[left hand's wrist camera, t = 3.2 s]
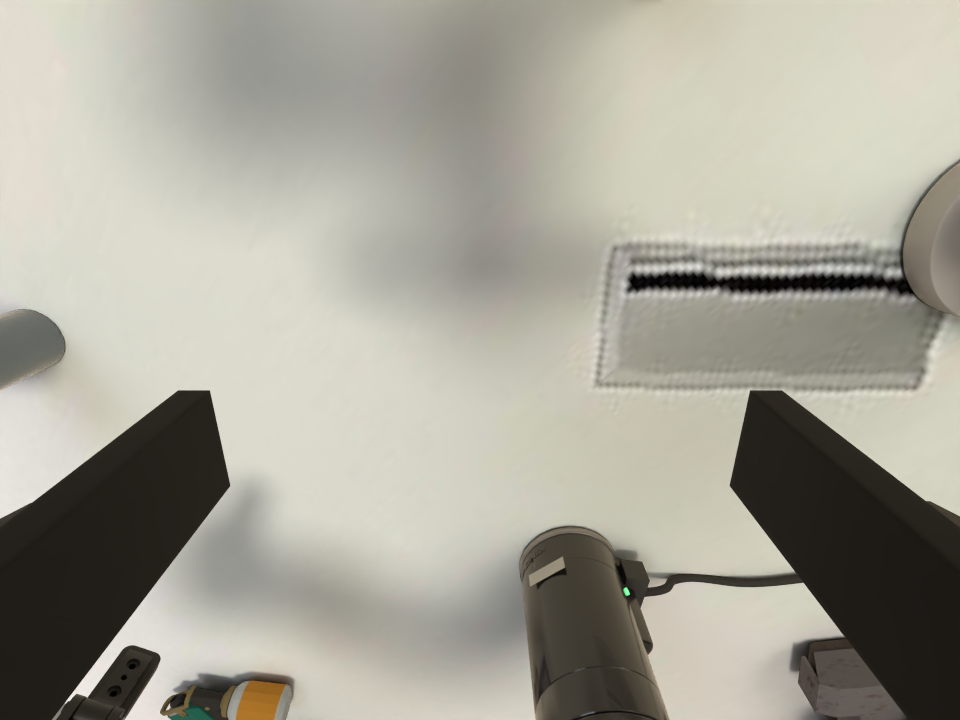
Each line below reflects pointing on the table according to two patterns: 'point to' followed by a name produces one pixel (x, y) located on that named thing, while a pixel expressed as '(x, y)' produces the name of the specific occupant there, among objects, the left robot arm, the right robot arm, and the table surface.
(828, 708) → the toy
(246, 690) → the spray gun
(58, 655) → the left robot arm
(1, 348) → the bottle
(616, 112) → the table surface
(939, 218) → the bust sculpture
